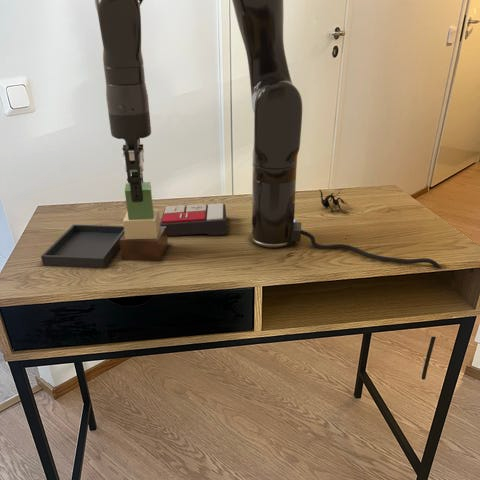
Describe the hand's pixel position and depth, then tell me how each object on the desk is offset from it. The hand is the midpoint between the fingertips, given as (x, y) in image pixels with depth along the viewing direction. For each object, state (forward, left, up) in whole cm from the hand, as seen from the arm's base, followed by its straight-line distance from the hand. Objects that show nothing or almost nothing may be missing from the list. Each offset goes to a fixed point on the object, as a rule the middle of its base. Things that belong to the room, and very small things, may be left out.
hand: (138, 194), depth 101 cm
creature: (-42, -30, -13) cm, 53 cm away
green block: (0, 0, -4) cm, 4 cm away
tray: (+13, -1, -13) cm, 18 cm away
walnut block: (0, 0, -13) cm, 13 cm away
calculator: (-8, -15, -13) cm, 21 cm away
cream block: (0, 0, -8) cm, 8 cm away
